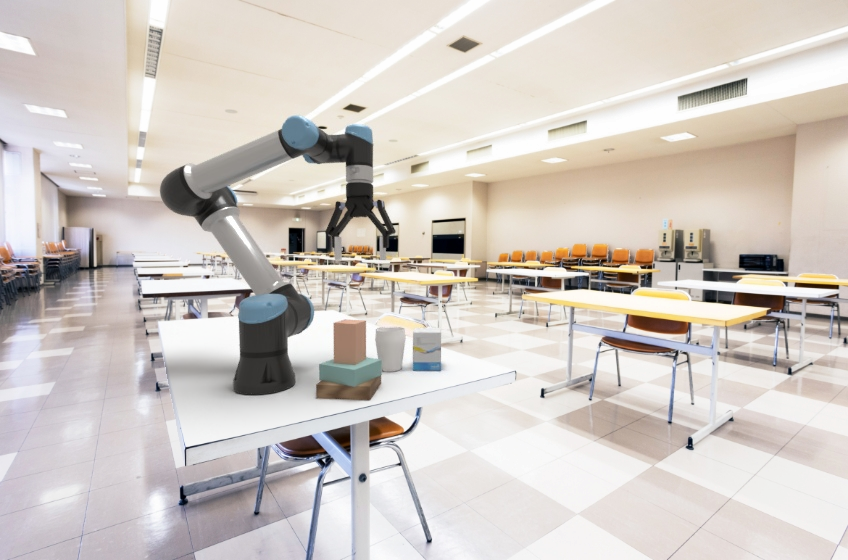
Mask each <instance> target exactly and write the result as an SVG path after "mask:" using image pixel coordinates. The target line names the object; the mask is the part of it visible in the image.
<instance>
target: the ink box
mask: <svg viewBox="0 0 848 560" xmlns="http://www.w3.org/2000/svg"><path fill="white" fill-rule="evenodd" d="M441 330H442V329H441V327H428V326H427V327H424V326H423V327H422V326H421V327H414V328H413V332H412V371H427V372H428V371H431V372H432V371H439V372H440V371H441V370H442V332H441Z"/></svg>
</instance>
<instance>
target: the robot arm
mask: <svg viewBox="0 0 848 560" xmlns="http://www.w3.org/2000/svg"><path fill="white" fill-rule="evenodd" d="M373 136H374V135H373V130H372V128H370V127H369V126H368V125H366V124H361V123H352V124H348V125H347V126H345V131H344V133H342V134H340V133H339V134H328V133H327V132H325V131H323V130H322V129H321V128H319V127H318V126H317V125H316V123H314V122H313V121H312V120H310V119H308V118H306V117H305V116H303V115H300V114H298V115H297V114H296V115H291V116H289V117H288V118H286V120H285V121H284V122H283V123H282V127H281V128H280V129H278V130H275V131H273V132H271V133H268V134H266V135H263V136H261V137H259V138H257V139H255V140H252V141H250V142H247V143H244V144H242V145H240V146H238V147H235V148H233V149H231V150H228V151H226V152H223V153H221V154H219V155H216V156H214V157H212V158H210V159H207V160H204V161H202V162H200V163H198V164H195V163H193V162H191V163H186V164H185V165H182V166H179V167H177V168H175V169H174V170H171V171H170V172H169V173H167V174H166V175H165V177H164V178H163V179H162V181H161V182H160V185H159V186H160V187H159V194H160V195H159V196H160V198H161V200H162V202H163V203H164V205H165V206H166V208H167V209H169V210H170V211H171V212H173V213H175V214H177V215H179V216H187V217H192V218H194V219H195V220H196V222H197V223H198V224H199V226H200V227H201V229H202V230H203V231H205V232H209V233H211V234H212V235H213V236H214V238H215V239H216V241H217V242H218V244H219V245H220V246H221V248H222V249H223V251H224V252H225V254H226V255H227V256H228V257H229V260H230V261H231V262H232V263H233V265H234V266H235V268H236V269H237V271H238V272H239V274H240V275H241V276H242V278H243V279H244V280H245V282H246V284H247V285H248V287H249V288H250V289H251V291H252V293H254V295H251V296H248V297H246V298H243V299H242V300H241V301H240V302H239V304H238V315H237V318H238V331H239V332H238V334H239V335H238V336H239V337H238V338H239V360H238V364H237V367H236V370H235V373H234V377H233V379H232V388H233V391H234V393H238V394H242V395H268V394H273V393H278V392H282V391H285V390H288V389H290V388H291V387H293V386H294V385H296V373H295V371H294V369H293V365H292V361H291V360H290V357H289V349H288V345H289V344H288V341H289V340H288V338H290V337H292V336H295V335H296V336H297V335H299V334H302V332H304V331H305V330H307V329H308V328H309V327H310V326H311V325H312V323H313V320H314V316H315V309H314V308H315V307H314V305H313V303H312V301H311V299H310V298H309V297H308V296H306V295H304V294H301V293H299V292H298V291H297V289H296V287H295V286H294V285H293V284H292V283H291V282H289V281H284V280H283V279H282V277H281V276H280V274H279V272H277V270H276V269H275V268H274V266H273V265H272V263H271V261H269V258H267V256H266V255H265V254H264V251H263V250H262V249H261V248H260V246H259V245H258V244H257V242H256V240H255V239H254V237H253V236H252V234H251V233H250V232H249V231H248V229H247V228H246V226H245V225H244V224H243V222H242V221H241V219H240V218H239V216H240V214H241V211H240V209H239V207H238V197H237V195H236V193H235V191H234V190H233V189H232V188H231V187H230V186H231V185H234V184H235V183H238V182H240V181H243V180H245V179H248V178H250V177H252V176H255V175H257V174H260V173H262V172H265V171H267V170H269V169H272V168H274V167H276V166H279V165H281V164H284V163H287V162H289V161H292V160H293V159H297V158H299V157H300V156H302V157H303V159H304V161H305V162H306V163H308V164H317V165H321V164H338V163H345V182H346V184H345V197H346V198H345V199H346V200H345V202H342V201H339V200H337V201H336V202H335V205H334V206H335V207H334V210H333V213H332V215H331V218H330V219H329V223H328V225H327V227H326V229H325V231H324V232H325V234H326V235H328V236H331V247H332V249H334V260H335V261H340V260H341V261H342V259H343V256H342V245H343V244H342V236H340V235H341V234H342V233H343V231H344V229H345V228H346V227H347V225H348V224H349V223H350V222H351V220H352V219H354V218H368V219H369V220H370V221H371V222H372V224H373V225H374V226H375V228H376V229H378V231H379V232H380V234H381V235H379V261H387V251H386V250H387V248H388V249H389V247H390V236H392V235H395V234H396V229H395V227H394V224H393V223H392V221H391V219H390V216H389V215H388V212H387V210H386V206H385V205H386V204H385V201H384V200H381V199H377V200H374V185H373V183H374V139H373ZM374 208H376V209H377V211H378V213H379V215H380V217H381V219H382V222H383V223H384V225H383V223H382V222H381V221H380V220H379V218H378V217H377V216H376V214H375V213H374V211H373V209H374ZM345 209H346V211H345V213H344V214H343V211H344V210H345ZM342 214H343V217H342V218H341V216H342Z"/></svg>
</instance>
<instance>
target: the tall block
mask: <svg viewBox="0 0 848 560" xmlns="http://www.w3.org/2000/svg"><path fill="white" fill-rule="evenodd" d="M366 357H367V320H363V319H362V320H360V319H343V320H338V321H336V322H335V321H334V322H333V359H334V363H341V364H353V365H356V364H358V363H360V362H362V361H363V360H365V359H366Z"/></svg>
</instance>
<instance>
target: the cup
mask: <svg viewBox="0 0 848 560" xmlns="http://www.w3.org/2000/svg"><path fill="white" fill-rule="evenodd" d="M374 339H375V340H374V341H375V346H376V353H377V354H376V355H377V359H381V360H382V372H385V373H386V372H387V373H388V372H389V373H391V372H392V373H394V372H398V371H401V370H402V368H403V360H404V352H405V345H406V339H407V338H406V329H405V328H404V327H401V326H399V327H398V326H382V327H377V328H376V329H375V338H374Z"/></svg>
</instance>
